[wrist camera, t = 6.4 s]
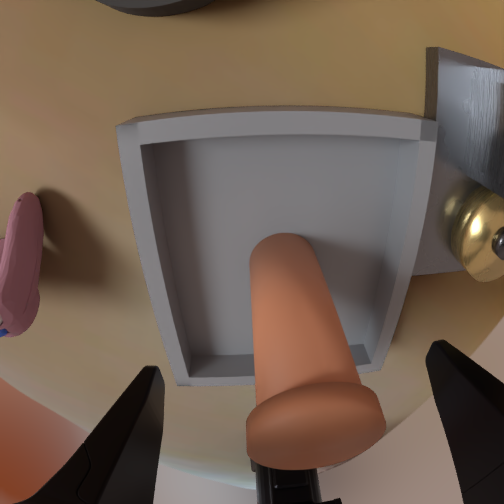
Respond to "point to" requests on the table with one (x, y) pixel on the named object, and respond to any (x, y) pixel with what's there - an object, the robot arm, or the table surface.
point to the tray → (273, 220)
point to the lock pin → (303, 366)
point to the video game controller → (21, 266)
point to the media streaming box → (155, 6)
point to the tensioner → (464, 168)
